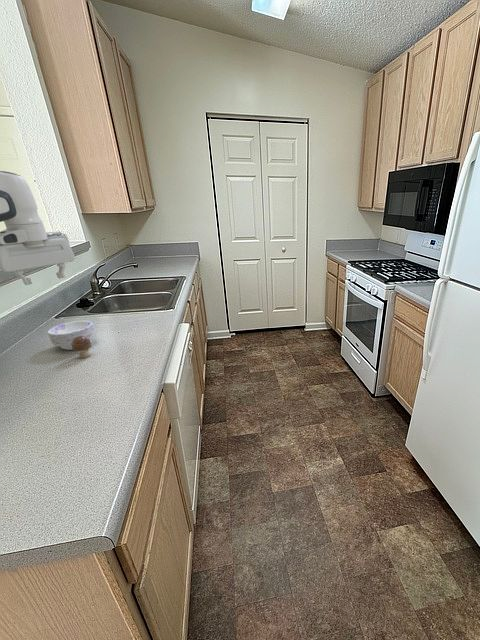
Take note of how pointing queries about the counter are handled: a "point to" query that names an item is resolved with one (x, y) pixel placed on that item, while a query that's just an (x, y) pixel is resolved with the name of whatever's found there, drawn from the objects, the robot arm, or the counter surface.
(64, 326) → the paper bowls
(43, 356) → the counter surface
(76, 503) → the counter surface
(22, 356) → the counter surface
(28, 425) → the counter surface
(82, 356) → the mushroom
